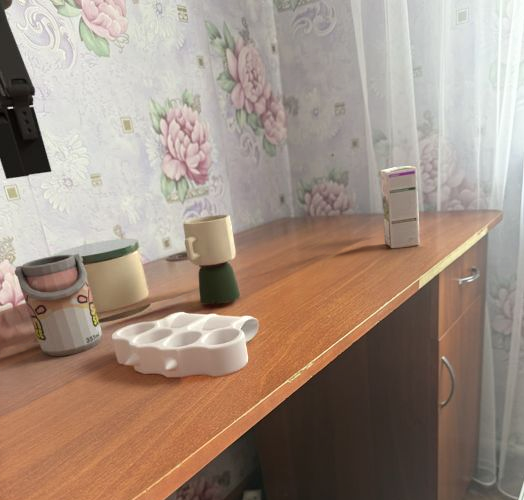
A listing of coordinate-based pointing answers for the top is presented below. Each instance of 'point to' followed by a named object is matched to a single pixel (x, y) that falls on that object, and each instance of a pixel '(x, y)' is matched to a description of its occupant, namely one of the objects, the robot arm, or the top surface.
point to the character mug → (212, 257)
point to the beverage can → (60, 304)
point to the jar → (113, 275)
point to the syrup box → (400, 206)
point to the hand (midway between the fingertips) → (27, 176)
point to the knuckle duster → (186, 344)
